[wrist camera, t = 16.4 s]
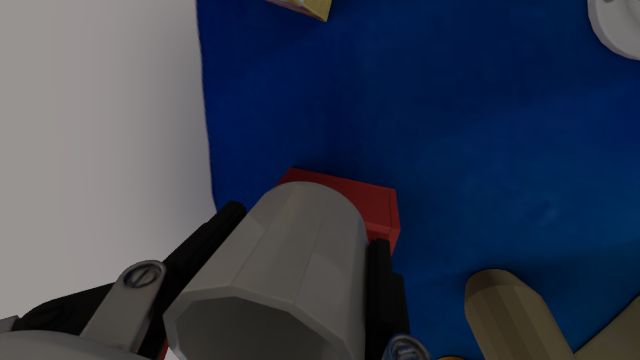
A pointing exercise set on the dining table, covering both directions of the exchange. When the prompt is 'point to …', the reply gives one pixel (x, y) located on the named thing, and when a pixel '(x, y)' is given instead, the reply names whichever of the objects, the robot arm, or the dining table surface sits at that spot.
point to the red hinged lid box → (359, 202)
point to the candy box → (307, 7)
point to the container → (280, 284)
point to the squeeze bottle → (512, 319)
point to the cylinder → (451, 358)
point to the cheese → (616, 338)
